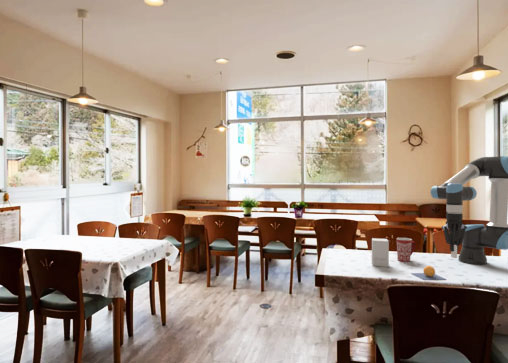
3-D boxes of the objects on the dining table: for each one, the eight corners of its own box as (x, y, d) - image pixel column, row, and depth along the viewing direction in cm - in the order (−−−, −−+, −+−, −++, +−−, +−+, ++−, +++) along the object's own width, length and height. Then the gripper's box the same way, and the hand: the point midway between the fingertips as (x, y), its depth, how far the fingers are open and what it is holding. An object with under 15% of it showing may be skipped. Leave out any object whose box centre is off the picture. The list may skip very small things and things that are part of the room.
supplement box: (387, 263, 216) (387, 238, 216) (388, 267, 207) (389, 241, 207) (371, 262, 218) (371, 237, 218) (372, 266, 210) (372, 240, 209)
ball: (428, 276, 191) (432, 267, 192) (434, 279, 186) (439, 270, 186) (419, 272, 191) (424, 263, 191) (425, 275, 185) (430, 265, 185)
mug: (402, 262, 219) (402, 240, 219) (392, 259, 228) (393, 237, 228) (419, 261, 223) (420, 239, 222) (409, 258, 231) (410, 237, 231)
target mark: (432, 273, 195) (432, 272, 195) (446, 279, 183) (446, 279, 183) (411, 273, 194) (411, 273, 194) (423, 280, 182) (423, 279, 182)
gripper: (461, 211, 194) (460, 255, 195) (438, 212, 193) (438, 256, 193) (470, 213, 187) (470, 258, 187) (447, 213, 185) (447, 259, 186)
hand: (454, 257), depth 190 cm, fingers closed
